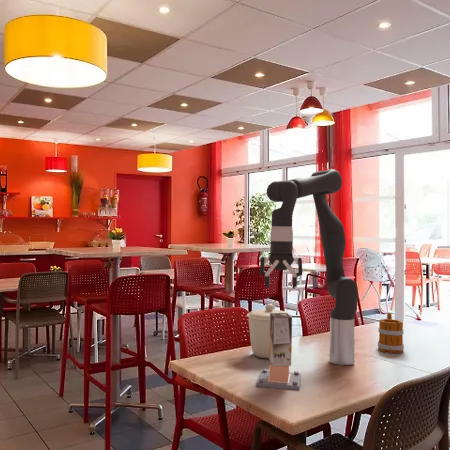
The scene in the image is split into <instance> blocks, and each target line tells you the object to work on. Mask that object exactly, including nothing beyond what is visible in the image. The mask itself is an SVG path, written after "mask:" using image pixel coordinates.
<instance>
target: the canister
mask: <svg viewBox="0 0 450 450" xmlns="http://www.w3.org/2000/svg"><path fill="white" fill-rule="evenodd" d="M274 307H275V306H274V305H273V304H272V303H266V304H265V305H264V308H263V309H256V310H255V309H254V310H252V311H250V312H249V313H247V314H246V317H248V326H249V327H248V328H249V337H250V338H249V340H250V347H251V352H252V353H253V354H252V355H254V356H256V357H258V358H261V359H267V360H270V359H269V349H270V313H287V314H288V315H290V316H291V317H292V318H293V316H292V315H291V314H289V312H287V311H285V310H279V309H275V308H274Z"/></svg>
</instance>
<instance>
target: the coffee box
mask: <svg viewBox="0 0 450 450" xmlns="http://www.w3.org/2000/svg"><path fill="white" fill-rule="evenodd" d="M287 313H288V312H287ZM287 313H270V349H269V359H268V360H269V362H270V364H271V363H272V365H273V366H289V367H291V366H292V347H293V346H292V345H293V344H292V343H293V342H292V341H293V340H292V338H293V335H292V333H293V332H292V331H293V316H292V315H291V314H289V313H288V314H289V315H288V314H287ZM290 315H291V316H292V317H291V316H290Z"/></svg>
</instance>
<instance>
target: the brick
mask: <svg viewBox="0 0 450 450" xmlns="http://www.w3.org/2000/svg"><path fill="white" fill-rule="evenodd" d="M269 371H270V381H279V382H288V378H289V373H290V366H273V365H272V363H271V362H270V364H269Z"/></svg>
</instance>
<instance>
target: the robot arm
mask: <svg viewBox="0 0 450 450" xmlns="http://www.w3.org/2000/svg"><path fill="white" fill-rule="evenodd" d="M342 187H343V179H342V175H341V174H340V172H339V171H338V170H336V169H326V170H325V169H324V170H320V171H316V172H313V173H311V175H310V176H303V177H296V178H293V179H288V180H278V181H275V180H274V181H272V182H271V183H269V184H268V186H267V187H266V195H267V198H268V199H269V200H270V201H272V202H274V203H282V204H281V206H280V207H278V208H276V209H275V208H274V209H273V210H272V211H271V227H270V235H269V236H270V237H269V239H270V241H269V242H270V247H269V251H270V253H269V257H267V256H266V257H265V256H260V257H261V258H260V264H259V265H260V266H259V274H260V275H262V276H264V285H265V287H266V288H267V289H269V288H270V287H271V285H270V284H271V280H270V279H271V278H270V277H271V276H270V274H271V273H272V272H273V270H274V269H275V270H276V271H280V270H282V271H287V270H288V271H289V273H290V274H291V276H292V289H296V288H297V285H298V277H301V276H302V275H303V258H302V257H301V256H300V257H294V256H293V254H294V253H293V249H294V247H293V246H294V245H293V244H294V233H293V231H294V230H293V214H294V210H295V207H296V203H297V200H298V199H301V198H305V197H309V196H311V195H312V197H313V202H314V205H315V209H316V214H317V219H318V226H319V233H320V241H321V245H322V251H323V257H324V262H325V271H326V273H325V275H326V288H327V292H328V294H329V295H330V297H331V298H333V299H335V303H334V308H333V309H331V310H330V312H329V313H330V314H329V317H330V318H329V319H330V321H329V355H328V356H329V362H330V363H331V364H335V365H339V366H349V365H350V366H351V365H352V366H353V365H355V345H356V343H355V317H356V313H357V310H358V309H357V308H358V298H359V297H358V294H359V292H358V291H359V289H358V284H357V283H356V281H355V280H354V279H352V278H351V277H347V276H346V274H345V270H344V256H345V255H344V254H345V252H346V251H345V250H346V246H347V241H346V240H347V239H346V234H345V227H344V225H343V223H342V221H341V220H340V218H339V217H338V216H337V215H336V214H335V213H334V211H333V210H332V208H331V207H330V205H329V203H328V200H327V195H329V194H334V193H338V192H339V191H340V190H341V188H342ZM267 262H269V264H270V265H271V266H270V267H269V269H268V270H267V271H265V264H267ZM294 262H295V264H296V265H297V267H298V271H297V272H296V271H295V270H294V268H293V267H292V265H293V264H294Z"/></svg>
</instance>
